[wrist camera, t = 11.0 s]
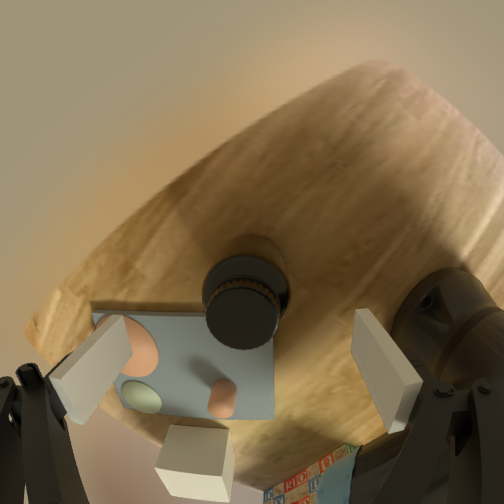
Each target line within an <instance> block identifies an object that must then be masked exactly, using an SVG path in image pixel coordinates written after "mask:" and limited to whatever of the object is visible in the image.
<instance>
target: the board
mask: <svg viewBox="0 0 504 504" xmlns="http://www.w3.org/2000/svg"><path fill="white" fill-rule="evenodd" d="M111 315H123V317H124V322H125V326H126V330H127V333H128V337H129V341H130V345H131V348H132V352H133V356H132V357H131V358H130V360H129V361H128V362H127V364H126V365H125V367H124V368H123V369H122V371H121V372H120V374H119V375H118V377H117V378H116V379H115V381H114V384H115V387H116V390H117V392H118V395H119V397H120V399H121V402H122V404H123V407H124V408H127V409H132V410H138V411H140V412H143V413H148V414H153V413H157V414H165V415H173V416H182V417H193V418H206V419H227V420H272V419H275V404H274V351H273V337H272V338H271V339H270V341H269V342H267V343H265V344H264V345H263V346H260V347H258V348H254V349H252V350H248V349H247V350H236V349H234V348H229V347H228V346H224V345H223V344H222V343H220V342H218V340H217V339H216V338H214V337H213V334H212V333H210V331H209V328H208V327H207V322H206V320H205V319H206V314H205V312H152V311H123V310H103V309H96V310H95V311H93V312H92V316H93V320H94V323H95V327H96V329H98V328H99V327H100V326H101V325H102V324H103V323H104V322H105V321H106V320H107V319H108V318H109V317H110V316H111Z"/></svg>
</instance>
